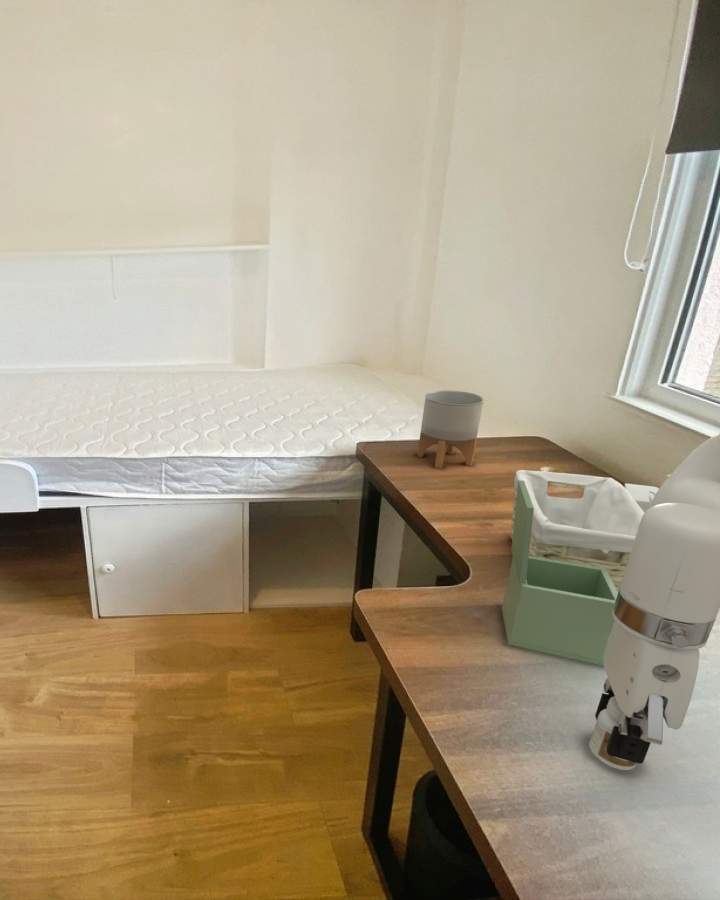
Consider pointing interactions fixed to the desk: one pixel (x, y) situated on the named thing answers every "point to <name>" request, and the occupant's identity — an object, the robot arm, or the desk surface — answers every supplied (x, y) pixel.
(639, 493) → the ink box
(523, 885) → the desk surface
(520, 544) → the lid
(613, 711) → the pill bottle
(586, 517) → the basket
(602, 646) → the chest
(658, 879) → the desk surface
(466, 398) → the planter
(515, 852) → the desk surface
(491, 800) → the desk surface
